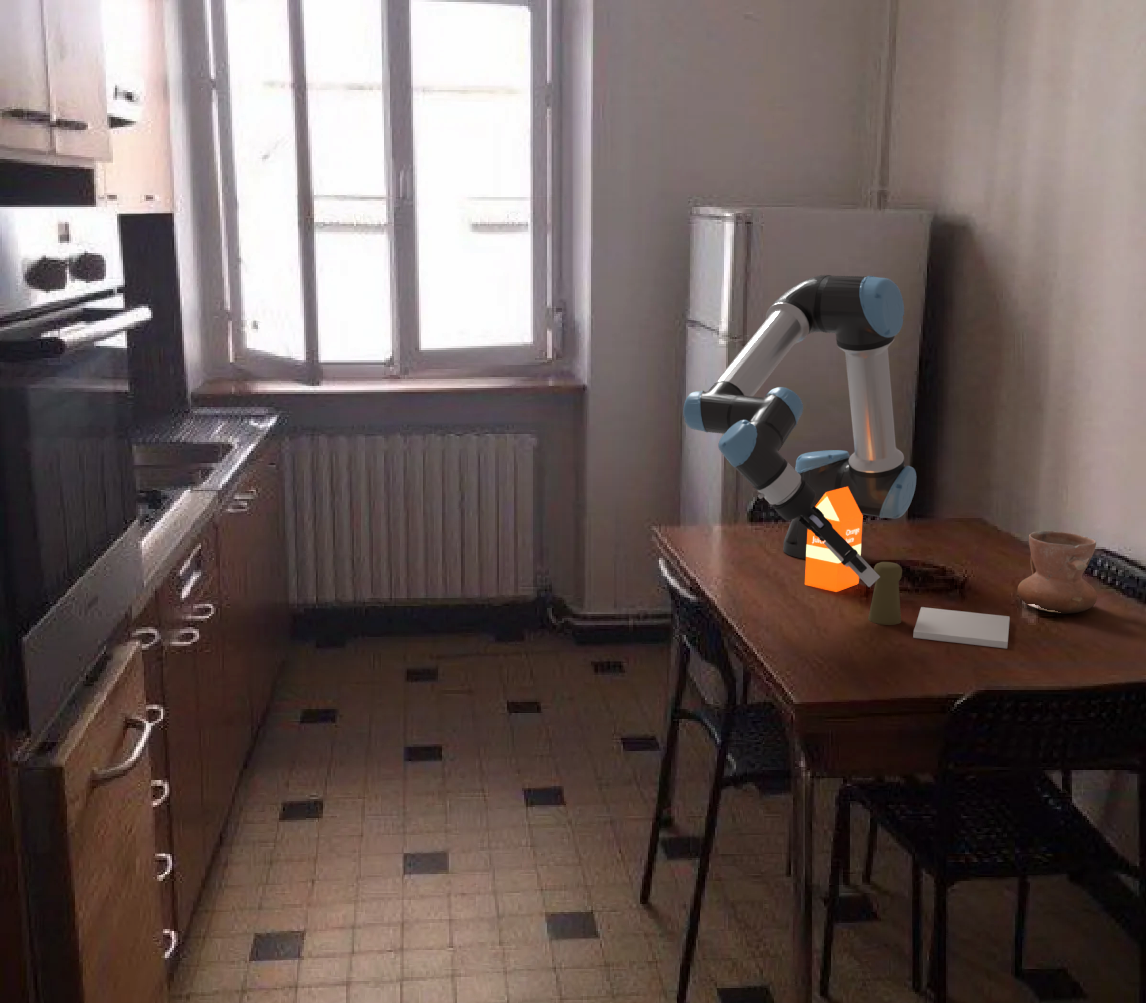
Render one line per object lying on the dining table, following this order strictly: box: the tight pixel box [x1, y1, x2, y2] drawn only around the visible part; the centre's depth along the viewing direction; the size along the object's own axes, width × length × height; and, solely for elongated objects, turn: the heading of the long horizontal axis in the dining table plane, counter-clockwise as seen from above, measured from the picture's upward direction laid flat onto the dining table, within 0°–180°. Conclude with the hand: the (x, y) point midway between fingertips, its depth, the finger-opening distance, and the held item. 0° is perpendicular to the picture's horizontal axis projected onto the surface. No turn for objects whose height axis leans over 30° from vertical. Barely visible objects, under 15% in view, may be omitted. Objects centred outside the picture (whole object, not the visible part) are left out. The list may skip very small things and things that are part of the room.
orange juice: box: [804, 487, 864, 593], centre depth 257 cm, size 8×9×20 cm
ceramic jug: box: [1017, 530, 1098, 615], centre depth 243 cm, size 18×14×14 cm
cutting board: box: [912, 606, 1011, 649], centre depth 230 cm, size 16×16×1 cm
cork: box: [867, 561, 903, 626], centre depth 234 cm, size 6×6×11 cm
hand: (862, 571), depth 232 cm, fingers open, 13 cm apart
